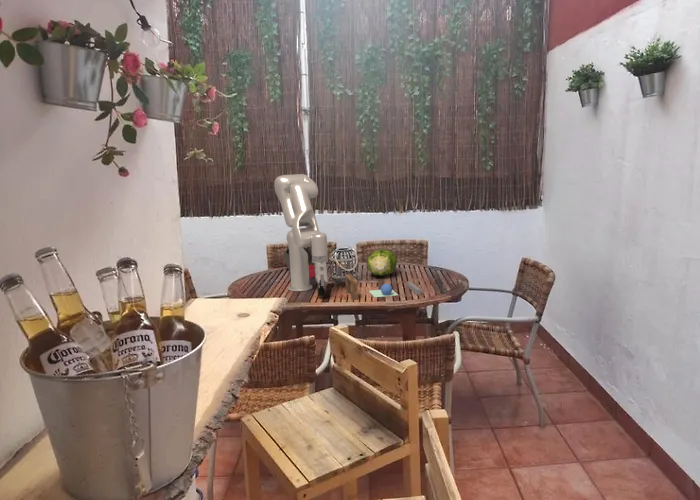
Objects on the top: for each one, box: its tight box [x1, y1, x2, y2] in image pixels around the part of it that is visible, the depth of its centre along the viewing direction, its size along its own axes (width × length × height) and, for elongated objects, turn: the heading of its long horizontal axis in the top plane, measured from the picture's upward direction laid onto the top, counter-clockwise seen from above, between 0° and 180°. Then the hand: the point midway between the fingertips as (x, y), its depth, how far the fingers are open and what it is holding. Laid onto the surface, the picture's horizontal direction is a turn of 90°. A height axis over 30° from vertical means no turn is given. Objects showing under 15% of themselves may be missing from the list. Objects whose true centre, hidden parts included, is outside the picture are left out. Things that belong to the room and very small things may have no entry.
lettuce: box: [366, 248, 398, 277], centre depth 295 cm, size 16×21×15 cm
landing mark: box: [368, 289, 399, 298], centre depth 263 cm, size 12×12×1 cm
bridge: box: [344, 273, 359, 301], centre depth 259 cm, size 3×15×9 cm, turn 11°
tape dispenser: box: [308, 264, 315, 279], centre depth 305 cm, size 14×10×5 cm
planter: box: [282, 246, 314, 272], centre depth 319 cm, size 17×8×21 cm
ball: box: [380, 283, 393, 295], centre depth 259 cm, size 6×6×6 cm
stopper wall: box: [406, 281, 422, 296], centre depth 266 cm, size 16×2×2 cm, turn 11°
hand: (321, 295), depth 257 cm, fingers closed
